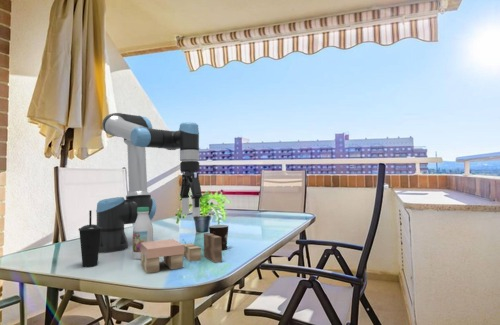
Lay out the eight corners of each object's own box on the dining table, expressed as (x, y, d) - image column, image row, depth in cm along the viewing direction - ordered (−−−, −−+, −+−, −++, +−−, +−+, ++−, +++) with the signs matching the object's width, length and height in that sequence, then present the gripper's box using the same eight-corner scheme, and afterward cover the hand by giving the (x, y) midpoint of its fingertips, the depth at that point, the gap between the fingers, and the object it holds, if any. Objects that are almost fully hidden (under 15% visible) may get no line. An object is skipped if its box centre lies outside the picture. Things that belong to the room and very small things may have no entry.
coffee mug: (219, 246, 142) (218, 224, 143) (233, 248, 137) (232, 225, 138) (199, 251, 133) (199, 227, 134) (213, 253, 128) (213, 229, 129)
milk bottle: (144, 254, 130) (144, 206, 131) (157, 256, 126) (157, 206, 127) (128, 258, 123) (128, 207, 124) (141, 260, 119) (141, 208, 120)
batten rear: (141, 265, 111) (141, 251, 111) (152, 264, 113) (152, 250, 113) (146, 273, 101) (146, 257, 102) (159, 271, 103) (159, 256, 104)
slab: (140, 250, 113) (140, 242, 113) (173, 247, 119) (173, 239, 119) (147, 258, 101) (147, 249, 101) (183, 253, 106) (183, 244, 106)
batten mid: (163, 262, 115) (163, 248, 115) (174, 261, 117) (174, 247, 117) (171, 269, 105) (171, 254, 106) (182, 267, 107) (182, 253, 108)
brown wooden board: (204, 256, 123) (203, 233, 124) (209, 255, 124) (209, 233, 125) (215, 263, 113) (215, 237, 113) (221, 262, 114) (221, 237, 114)
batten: (182, 256, 125) (182, 244, 126) (191, 255, 127) (191, 243, 128) (190, 262, 116) (190, 249, 116) (200, 260, 118) (200, 247, 118)
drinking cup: (79, 264, 116) (80, 210, 117) (102, 262, 118) (102, 209, 120) (76, 269, 109) (77, 211, 110) (100, 266, 111) (100, 210, 113)
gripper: (209, 158, 115) (211, 216, 113) (189, 163, 137) (190, 212, 135) (190, 158, 111) (191, 218, 110) (172, 163, 133) (173, 213, 132)
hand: (190, 215), depth 123 cm, fingers open, 13 cm apart
